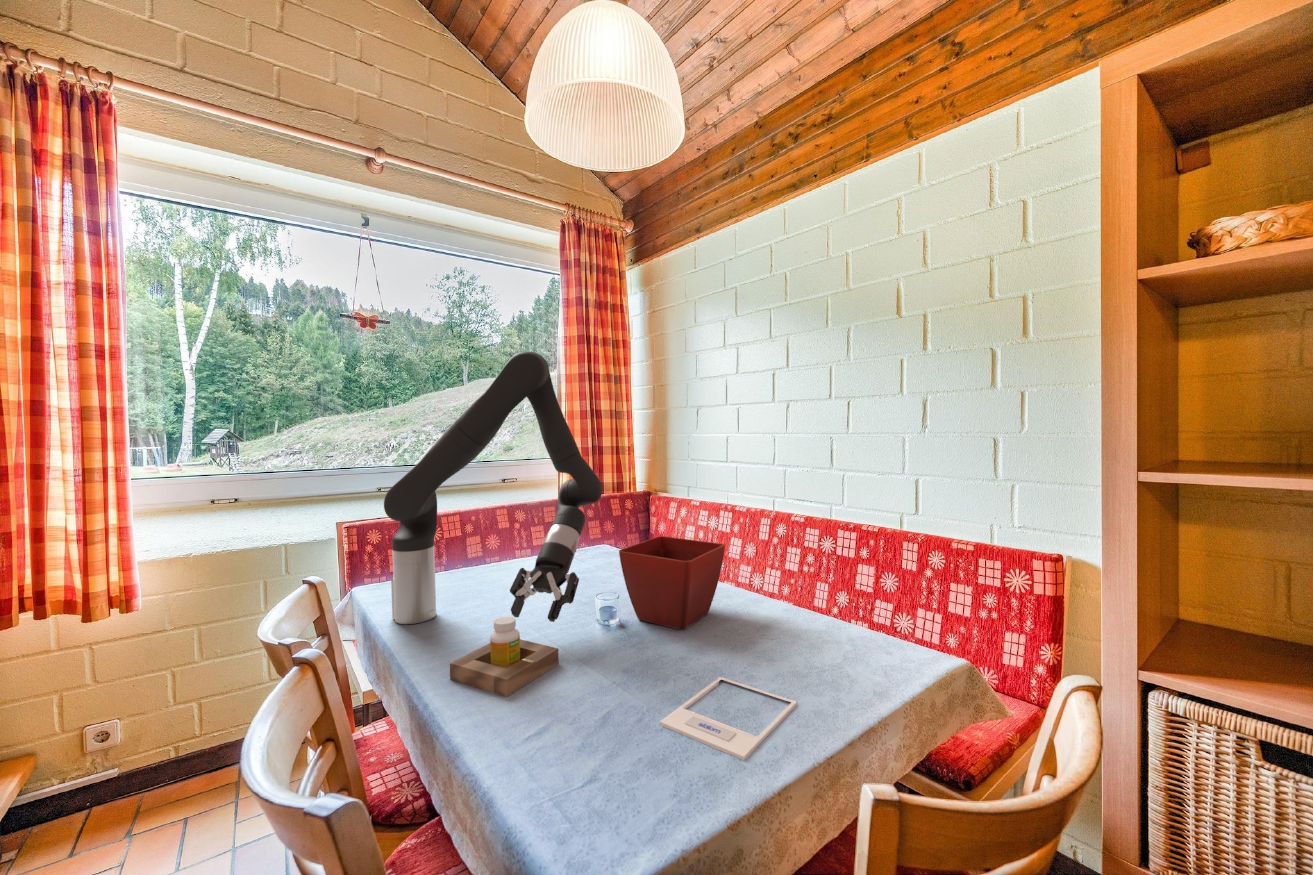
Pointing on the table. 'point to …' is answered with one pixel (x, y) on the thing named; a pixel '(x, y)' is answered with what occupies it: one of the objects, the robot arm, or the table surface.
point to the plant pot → (672, 579)
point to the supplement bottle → (505, 643)
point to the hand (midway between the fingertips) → (532, 617)
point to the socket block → (501, 680)
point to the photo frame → (720, 726)
